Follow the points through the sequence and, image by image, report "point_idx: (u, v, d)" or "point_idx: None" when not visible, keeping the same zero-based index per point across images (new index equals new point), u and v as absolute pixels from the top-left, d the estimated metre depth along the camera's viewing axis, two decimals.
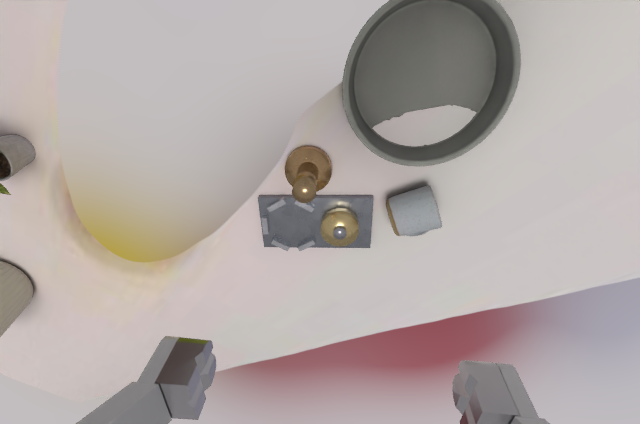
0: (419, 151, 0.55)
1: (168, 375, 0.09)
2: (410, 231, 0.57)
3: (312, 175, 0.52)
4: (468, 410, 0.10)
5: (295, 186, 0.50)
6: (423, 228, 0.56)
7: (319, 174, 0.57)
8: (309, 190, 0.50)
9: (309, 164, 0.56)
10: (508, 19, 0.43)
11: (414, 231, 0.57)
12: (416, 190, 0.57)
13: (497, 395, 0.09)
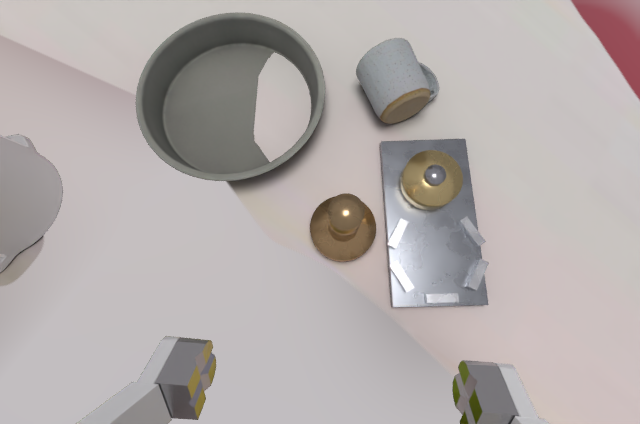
0: (313, 96, 0.46)
1: (168, 375, 0.09)
2: (415, 73, 0.40)
3: None
4: (468, 410, 0.10)
5: (336, 223, 0.33)
6: (408, 57, 0.40)
7: None
8: (342, 202, 0.33)
9: None
10: (173, 34, 0.45)
11: (415, 68, 0.40)
12: (362, 86, 0.44)
13: (497, 395, 0.09)
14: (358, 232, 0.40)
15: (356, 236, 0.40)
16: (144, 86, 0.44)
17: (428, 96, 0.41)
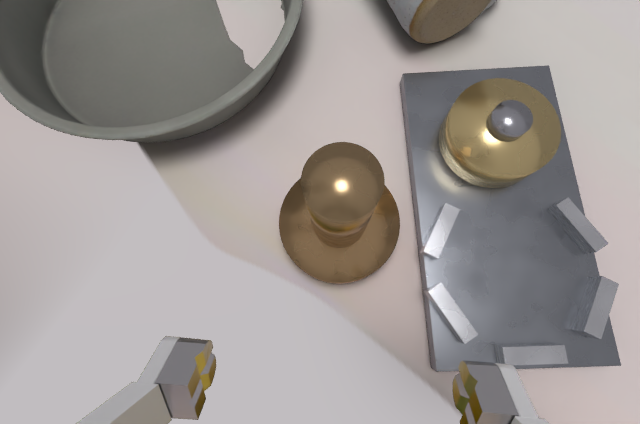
0: (287, 4, 0.27)
1: (167, 375, 0.09)
2: None
3: None
4: (468, 410, 0.10)
5: (319, 209, 0.14)
6: None
7: None
8: (332, 162, 0.15)
9: None
10: None
11: None
12: None
13: (497, 395, 0.09)
14: (367, 230, 0.22)
15: (364, 237, 0.22)
16: None
17: None
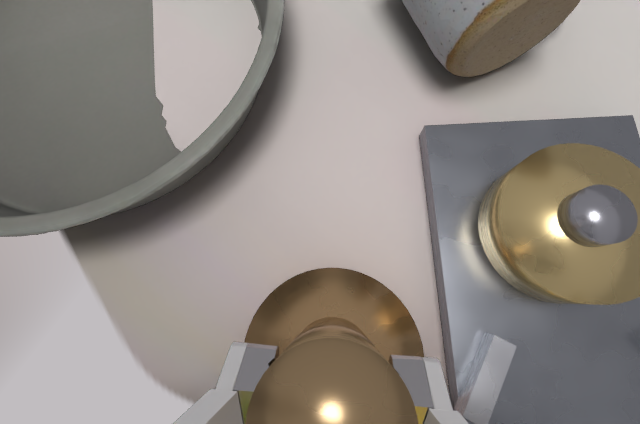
0: (264, 25, 0.20)
1: (244, 382, 0.09)
2: None
3: None
4: None
5: None
6: None
7: (341, 313, 0.15)
8: (311, 385, 0.07)
9: None
10: None
11: None
12: None
13: (416, 388, 0.09)
14: None
15: None
16: None
17: None
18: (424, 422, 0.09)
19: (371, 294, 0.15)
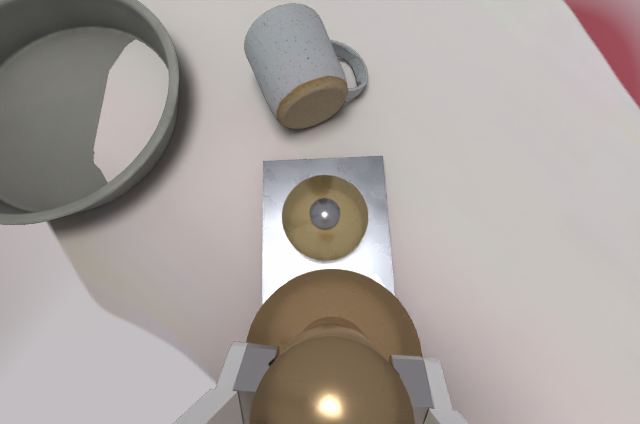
0: None
1: (245, 382, 0.09)
2: (318, 54, 0.27)
3: None
4: None
5: None
6: (309, 32, 0.27)
7: (341, 312, 0.15)
8: (312, 381, 0.07)
9: None
10: None
11: (319, 48, 0.27)
12: None
13: (416, 388, 0.09)
14: None
15: None
16: None
17: (342, 88, 0.28)
18: (424, 422, 0.09)
19: (370, 294, 0.16)
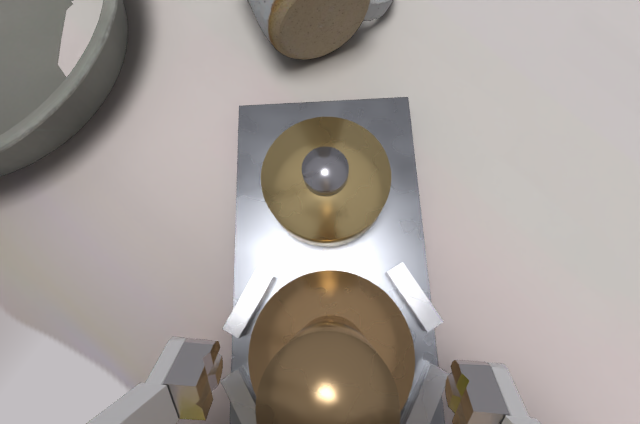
0: None
1: (175, 376, 0.09)
2: None
3: None
4: (460, 409, 0.10)
5: None
6: None
7: (339, 311, 0.17)
8: (310, 370, 0.09)
9: None
10: None
11: None
12: None
13: (488, 394, 0.09)
14: None
15: None
16: None
17: None
18: None
19: (366, 294, 0.17)
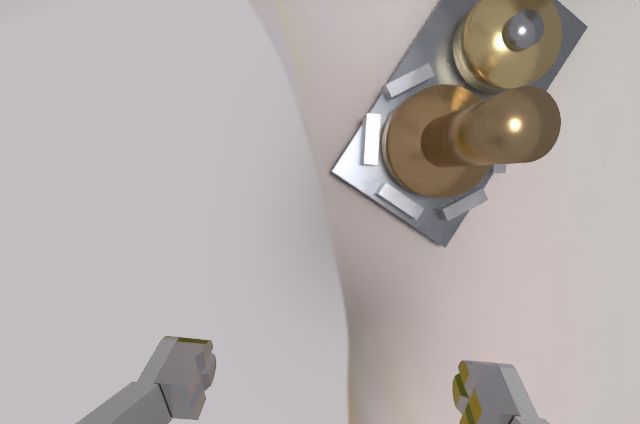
0: None
1: (167, 375, 0.09)
2: None
3: (476, 103, 0.19)
4: (468, 410, 0.10)
5: (495, 134, 0.16)
6: None
7: None
8: (529, 104, 0.16)
9: (433, 122, 0.23)
10: None
11: None
12: None
13: (497, 395, 0.09)
14: None
15: (452, 168, 0.24)
16: None
17: None
18: None
19: None
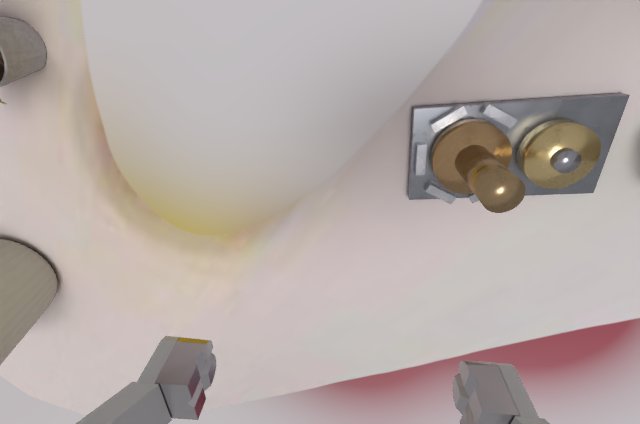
0: None
1: (167, 375, 0.09)
2: None
3: (503, 163, 0.31)
4: (468, 410, 0.10)
5: (489, 185, 0.29)
6: None
7: None
8: (514, 189, 0.29)
9: (479, 147, 0.34)
10: None
11: None
12: None
13: (497, 395, 0.09)
14: None
15: (459, 175, 0.37)
16: None
17: None
18: None
19: None
